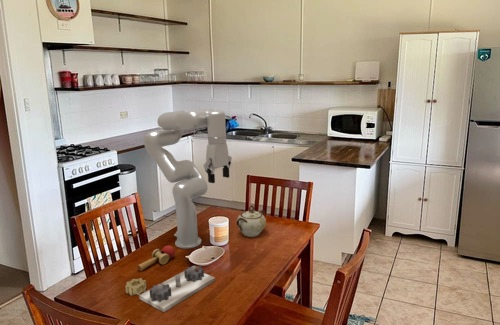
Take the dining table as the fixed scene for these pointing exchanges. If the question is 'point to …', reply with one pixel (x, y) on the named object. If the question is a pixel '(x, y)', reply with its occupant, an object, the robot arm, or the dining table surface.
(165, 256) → the kendama
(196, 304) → the dining table surface
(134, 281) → the brass gear
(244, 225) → the teapot
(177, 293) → the gear board
